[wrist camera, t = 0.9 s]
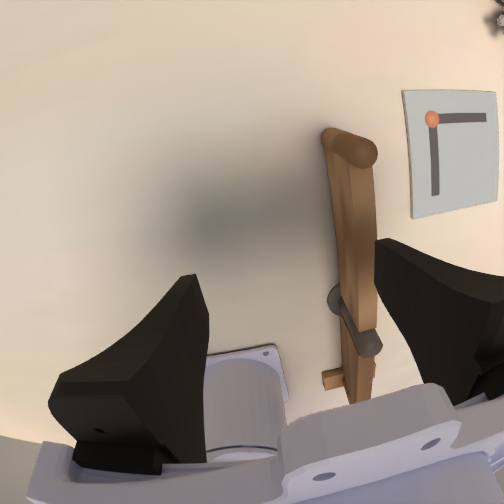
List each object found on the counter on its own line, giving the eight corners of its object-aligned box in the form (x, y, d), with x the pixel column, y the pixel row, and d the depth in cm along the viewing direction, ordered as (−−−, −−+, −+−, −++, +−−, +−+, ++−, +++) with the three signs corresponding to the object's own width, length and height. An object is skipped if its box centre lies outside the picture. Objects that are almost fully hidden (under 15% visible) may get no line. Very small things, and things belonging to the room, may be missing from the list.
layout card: (411, 217, 21) (413, 219, 20) (401, 90, 17) (404, 91, 16) (494, 199, 20) (497, 201, 20) (493, 92, 16) (496, 92, 16)
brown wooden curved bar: (359, 308, 23) (381, 354, 19) (339, 313, 23) (359, 360, 19) (343, 126, 17) (379, 137, 12) (317, 129, 17) (346, 141, 13)
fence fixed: (323, 384, 28) (335, 431, 23) (312, 288, 23) (331, 340, 18) (371, 371, 28) (390, 415, 23) (375, 273, 23) (407, 320, 18)
